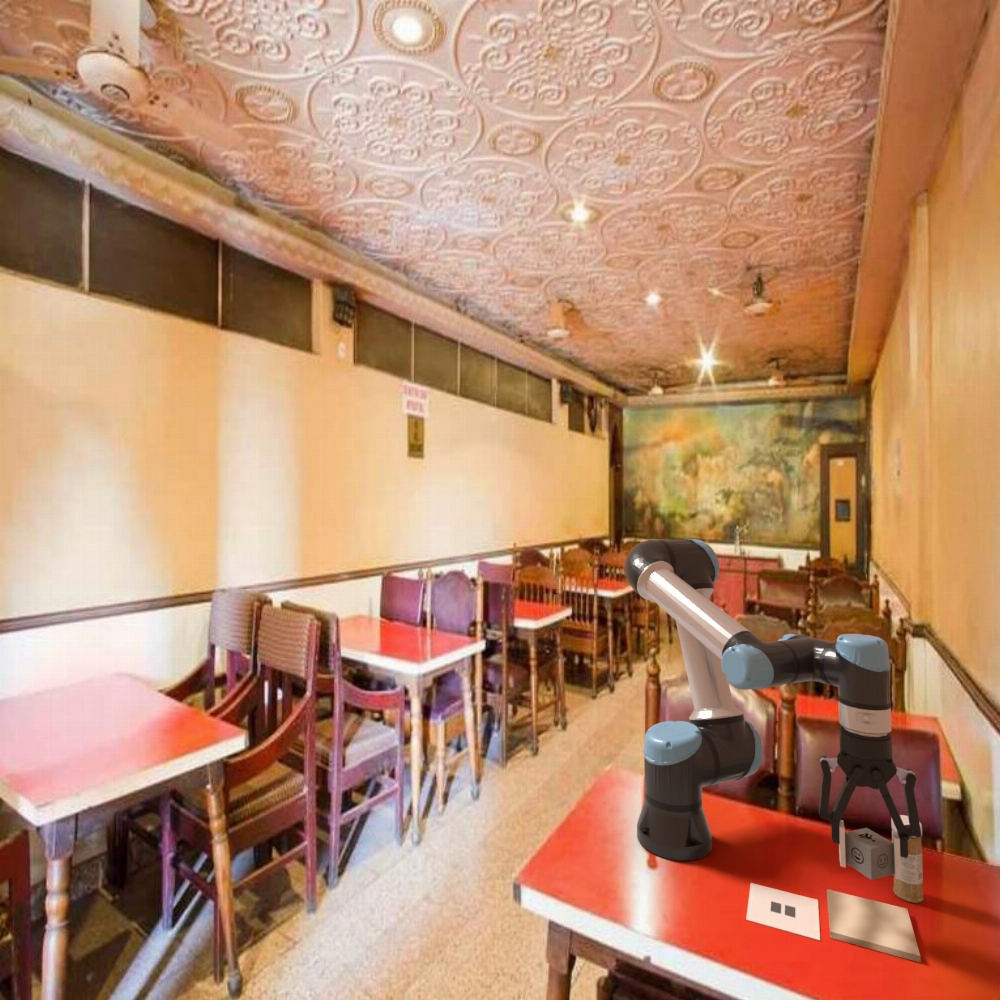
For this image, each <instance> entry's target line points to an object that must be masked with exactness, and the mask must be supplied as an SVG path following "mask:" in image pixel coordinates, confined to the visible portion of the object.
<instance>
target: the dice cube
mask: <svg viewBox="0 0 1000 1000" xmlns="http://www.w3.org/2000/svg"><path fill="white" fill-rule="evenodd" d="M845 858H846V865H848V866H849V867H851V868H853V869H854V870H855V871H857V872H858V873H861V874H862V875H863V876H864V877H866V878H867V879H869V880H871V881H874V880H878V879H881V878H884V877H890V876H894V845H893V842H892V840H889V839H887V838H885V836H882V835H880V834H879V833H877V832H875V831H873V830H871V829H870V828H868V827H863V828H859V829H854V830H849V831H845Z"/></svg>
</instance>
